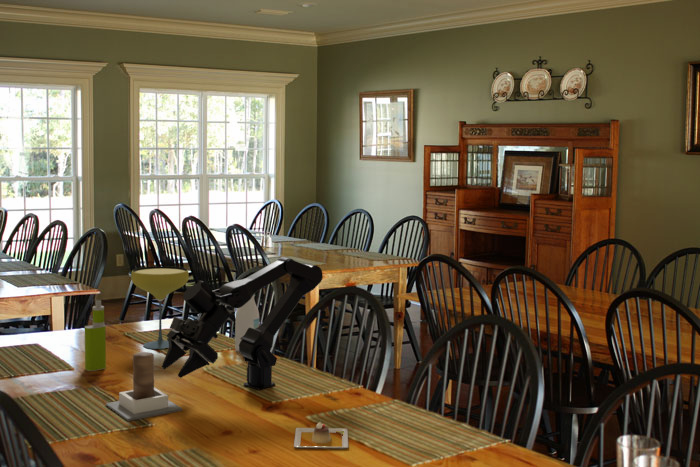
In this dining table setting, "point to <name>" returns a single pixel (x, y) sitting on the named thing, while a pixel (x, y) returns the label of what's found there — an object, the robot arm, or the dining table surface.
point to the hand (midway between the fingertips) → (170, 372)
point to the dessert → (320, 436)
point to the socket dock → (142, 405)
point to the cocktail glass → (159, 289)
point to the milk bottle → (245, 320)
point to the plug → (143, 375)
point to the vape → (96, 340)
